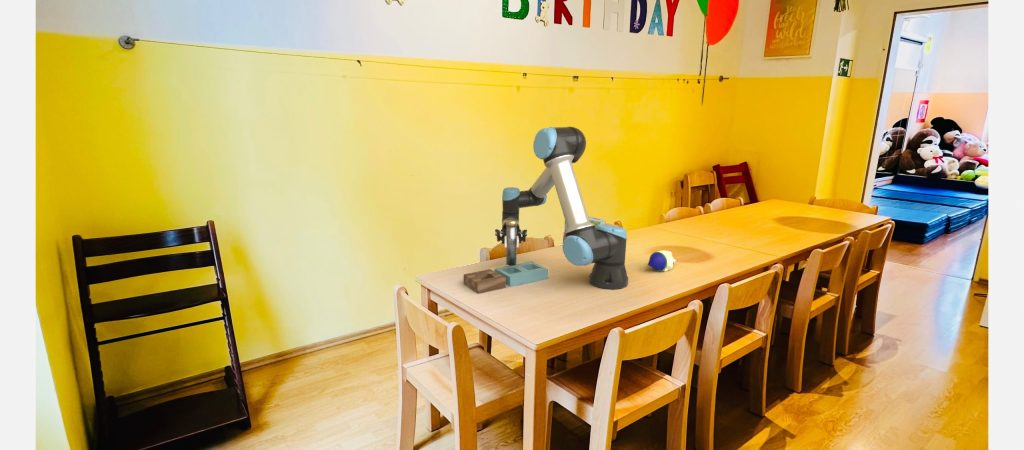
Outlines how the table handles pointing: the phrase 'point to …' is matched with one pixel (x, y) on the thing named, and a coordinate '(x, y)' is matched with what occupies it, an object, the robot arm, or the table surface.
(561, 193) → the robot arm
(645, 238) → the table surface
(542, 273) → the block
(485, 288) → the socket block
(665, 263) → the cartoon head
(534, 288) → the table surface
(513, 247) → the grey metal cylinder
